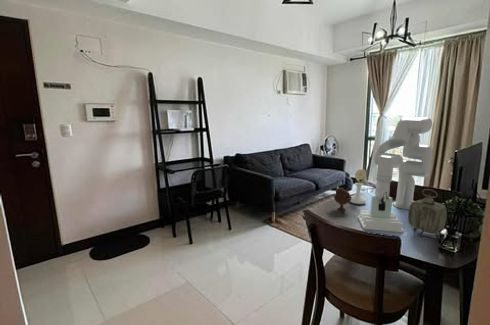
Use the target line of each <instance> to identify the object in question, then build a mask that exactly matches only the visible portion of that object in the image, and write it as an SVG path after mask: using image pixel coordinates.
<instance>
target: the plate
mask: <svg viewBox="0 0 490 325" xmlns="http://www.w3.org/2000/svg"><path fill="white" fill-rule="evenodd" d="M386 201H387V202H386V204H385V211H379V210H378V208H379V203H380V199H378V197H377V196H376V195H372V196H371V201H370V210H369V211H370V217H377V218H389V219H390V216H391V213H392V207H393V197H391V196H389V199H388V200H387V199H386Z"/></svg>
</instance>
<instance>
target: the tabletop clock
mask: <svg viewBox="0 0 490 325" xmlns="http://www.w3.org/2000/svg"><path fill="white" fill-rule="evenodd" d="M424 191H430V192H433V193H435V194H436V195H435V196H431V194H428V195H427V194H425V193H424ZM421 193H422V195H423V196H425V197H424V198H423V199H418V200H417V199H416V200H414V201H415V202H412V203H411V205H410V208H409V209H408V212H407V213H408V217H407V219H408V224H409V226H411V227H412V228H413V230H414V231H417V230H420V231H421V233H419V235H420V237H424V236H425V235H424V232H426V233H430V234H434V235H435V238H437V239H440V235H439V234H438V232H440V231H443V229H444V228H445V225H446V223H447V216H448V211H447V207H446V206H445V205H444V204H442V203H439V202H435V200H434V198H437V197H438V192H437V191H436V190H434V189H432V188H424V189H423V190H422V191H421Z"/></svg>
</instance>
